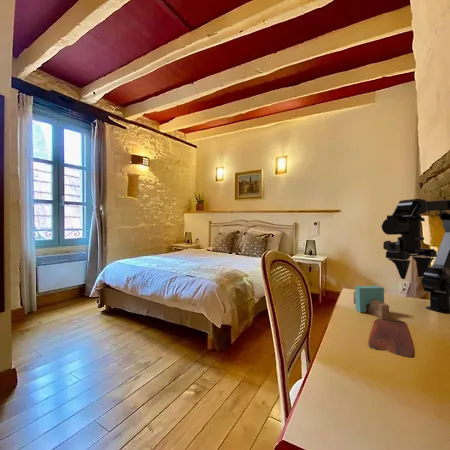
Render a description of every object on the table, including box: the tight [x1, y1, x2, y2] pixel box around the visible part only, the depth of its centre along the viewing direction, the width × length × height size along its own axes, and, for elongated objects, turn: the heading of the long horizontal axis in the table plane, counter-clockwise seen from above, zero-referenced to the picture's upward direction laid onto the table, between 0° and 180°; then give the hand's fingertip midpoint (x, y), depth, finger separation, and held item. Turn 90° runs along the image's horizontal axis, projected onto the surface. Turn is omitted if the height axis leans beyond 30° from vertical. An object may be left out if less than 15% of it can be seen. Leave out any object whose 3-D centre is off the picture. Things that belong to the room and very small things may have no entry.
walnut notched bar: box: [353, 291, 390, 320], centre depth 93 cm, size 18×2×5 cm, turn 1°
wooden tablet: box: [368, 318, 415, 358], centre depth 74 cm, size 27×10×2 cm, turn 146°
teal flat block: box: [354, 285, 385, 313], centre depth 93 cm, size 9×3×9 cm, turn 91°
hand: (411, 277), depth 90 cm, fingers open, 9 cm apart
